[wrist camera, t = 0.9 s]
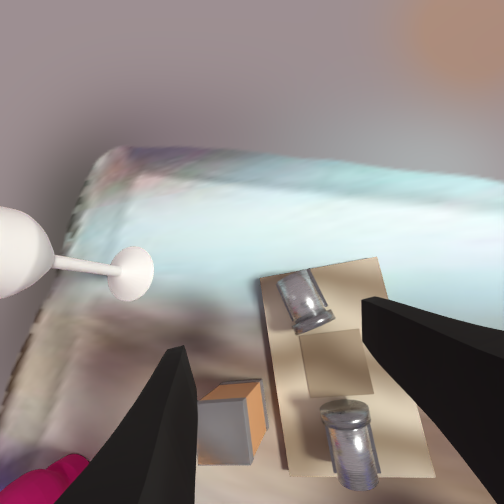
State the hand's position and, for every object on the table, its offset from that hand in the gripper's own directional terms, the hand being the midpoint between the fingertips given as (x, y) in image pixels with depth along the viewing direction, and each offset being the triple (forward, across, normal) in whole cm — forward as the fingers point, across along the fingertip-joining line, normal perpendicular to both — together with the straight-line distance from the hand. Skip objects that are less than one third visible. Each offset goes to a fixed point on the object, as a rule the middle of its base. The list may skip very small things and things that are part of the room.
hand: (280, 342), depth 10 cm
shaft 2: (+7, -6, +15) cm, 18 cm away
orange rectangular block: (+11, +2, +15) cm, 18 cm away
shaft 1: (+13, -6, +6) cm, 15 cm away
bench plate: (+9, -7, +11) cm, 16 cm away
